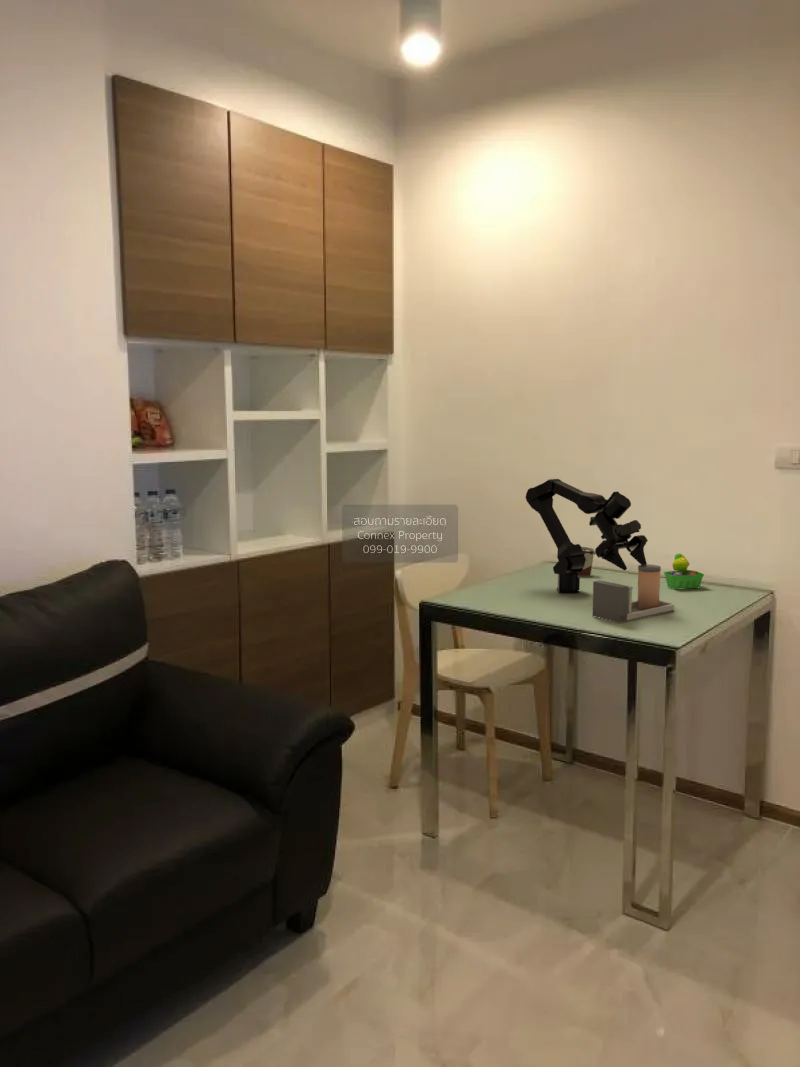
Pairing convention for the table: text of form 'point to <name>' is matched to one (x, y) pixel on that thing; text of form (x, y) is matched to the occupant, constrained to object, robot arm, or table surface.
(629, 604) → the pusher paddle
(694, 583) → the fruit basket
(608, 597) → the lane
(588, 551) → the food container
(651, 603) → the jar
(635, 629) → the table surface
